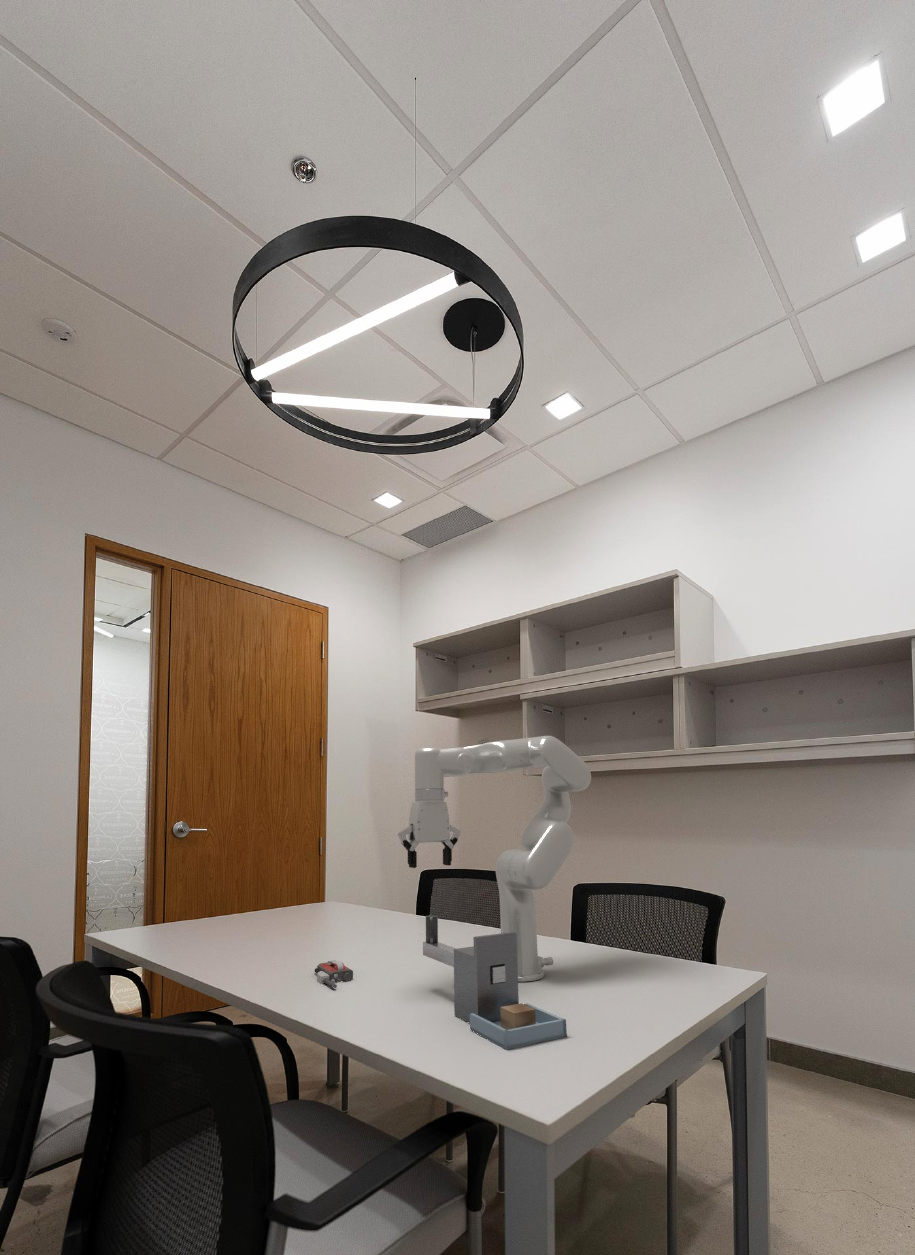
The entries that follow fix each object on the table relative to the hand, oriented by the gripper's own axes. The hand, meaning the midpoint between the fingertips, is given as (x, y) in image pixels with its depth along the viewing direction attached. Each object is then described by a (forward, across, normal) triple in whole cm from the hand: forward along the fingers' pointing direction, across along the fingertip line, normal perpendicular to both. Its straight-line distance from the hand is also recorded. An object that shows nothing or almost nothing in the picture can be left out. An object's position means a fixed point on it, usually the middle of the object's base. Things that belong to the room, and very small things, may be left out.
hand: (430, 866), depth 179 cm
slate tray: (+29, 0, +38) cm, 47 cm away
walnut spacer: (+24, 0, +38) cm, 45 cm away
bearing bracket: (+29, 0, +26) cm, 39 cm away
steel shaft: (+21, 0, +15) cm, 25 cm away
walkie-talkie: (+30, +16, -23) cm, 41 cm away
